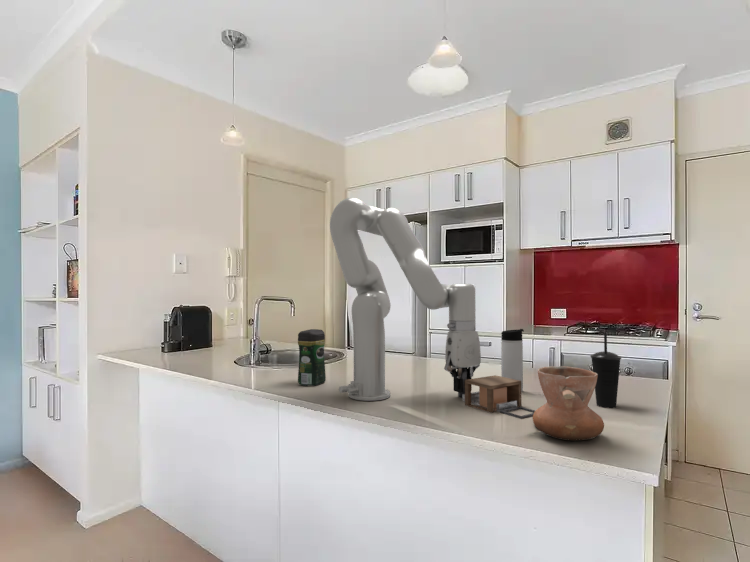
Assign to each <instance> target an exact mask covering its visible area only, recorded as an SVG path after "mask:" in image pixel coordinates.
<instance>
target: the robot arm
mask: <svg viewBox="0 0 750 562" xmlns="http://www.w3.org/2000/svg"><path fill="white" fill-rule="evenodd" d="M358 230H359V231H360V232H361V231H362V232H366V233H370V234H374V235H376V236H381V237H382V238H383V239H384V241H385V243H386V244H387V246H388V248H389V249H390V251H391V252H392V255H393V256H394V257H395V260H396V262H398V264H399V267H400V269H401V270H402V272H403V274H404V277H406V280H407V281H408V283H409V285H410V287H411V289H412V290H413V292H414V294H415V296H416V297H417V298H418V300H419V302H420V303H421V305H422V306H424V307H425V308H426V309H428V310H430V311H431V310H433V311H434V310H439V309H444V308H448V323H447V325H446V327H447V328H448V331H447V335H446V341H445V353H444V358H445V359H444V360H445V365H444V368H443V369H444V370H445V372H448V373H449V374H450V375H451V377H452V378H453V391H454V392H456V393H458V392H460V393H462V392H463V378H461V371H462V368H466V367H467V380H468V379H473V377H474V373H475V371H476V370H477V369H478V368H479V367H480V366H481V363H482V362H481V361H482V359H481V356H482V355H481V353H482V352H481V344H480V336H479V333H478V332H479V331H477V330H476V328H477V327H476V326H477V325H476V324H477V323H476V288H475V285H473V284H471V283H453V284H443V283H441V281H439V278H438V277H437V275H436V273H435V271H434V270H433V268H432V267H431V265H430V263H429V261H428V259H427V256H426V252H425V249H424V247H423V245H422V243H421V242H420V241H419V239H418V238H417V236H416V234H415V233H414V231H413V229H412V227H410V224H409V221H408V218H407V217H406V216H405V214H404V213H403V212H401V210H399V209H397V208H395V207H388V208H384V209H382V208H379V207H375V206H372V205H368V204H367V203H365V202H364V200H361V199H359V198H357V197H347V198H344V199H343V200H341V201H340V202H338V204H337V205H336V206H335V207H334V208H333V211H332V212H331V216H330V220H329V232H330V236H331V241H332V243H333V246H334V249H335V252H336V255H337V259H338V263H339V265H340V268H341V272H342V275H343V277H344V281H345V283H346V284H347V285H348V286H349V287H350V288H353V289H355V290H356V293H357V295H356V297H355V298H354V300H353V301H352V304H351V320H352V331H353V334H352V335H353V380H352V381H351V380H350V382H349V384H348V385H340V386H339V387H338V391H339V393H340V394H342V393H347V394H348V397H349V398H350V399H352V400H355V401H365V402H369V401H370V402H373V401H382V400H386V399H389V398H390V397H391V391H390V390H388V389H386V331H385V321H384V319H385V318H386V317H388V314H389V313H390V311H391V306H392V305H391V300H390V296H389V294H388V291H387V288H386V285H385V282H384V279H383V276H382V273H381V271H380V269H379V267H378V265H377V264H376V263H375V262H374V261H373V260H371V259H369V258H368V255H367V253H366V251H365V248H364V244H363V241H362V239H361V237H360V234H359V231H358ZM472 386H473V385H471V391H472Z"/></svg>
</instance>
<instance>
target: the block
mask: <svg viewBox="0 0 750 562" xmlns="http://www.w3.org/2000/svg"><path fill="white" fill-rule="evenodd" d="M478 387H479V404H480V405H483V406H486V407H487V388H484V387H480V386H478ZM502 402H507V387H500V388H495V389H493V409H495V408H496V404H497V403H502Z"/></svg>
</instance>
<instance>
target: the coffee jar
mask: <svg viewBox="0 0 750 562" xmlns="http://www.w3.org/2000/svg"><path fill="white" fill-rule="evenodd" d="M325 343H326V335H325V331H323V329H316V328H313V329H307V330H302V331H299V332H298V333H297V345H298V349H299V350H298V370H297V371H298V372H297V384H299V385H301V386H303V387H309V386H310V387H312V386H315V387H316V386H319V385H321V384H324V383H325V382H326V381H327V380H326V379H327V377H326V376H327V375H326V365H325V363H326V362H325V361H326V360H325V345H326V344H325Z"/></svg>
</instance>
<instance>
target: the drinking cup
mask: <svg viewBox="0 0 750 562" xmlns="http://www.w3.org/2000/svg"><path fill="white" fill-rule="evenodd" d="M603 344H604V345H603V351H598V352H595V353H593V354H590V356H589V357H590V358H591V365H592V372H595V373H597V374H598V377H597V382H596V386H595V389H594V392H595V402H596V406H598V405H599V406H598V407H600V406H602V407H601V408H606V407H609V408H608V409H610V408H611V409H614V408H613V407H615V408H617V400H618V389H619V379H620V378H619V377H620V368H621V367H620V366H621V360H622V356H620V355H619V354H616V353H614V352H610V351H608V333H607V332H604V333H603Z"/></svg>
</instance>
